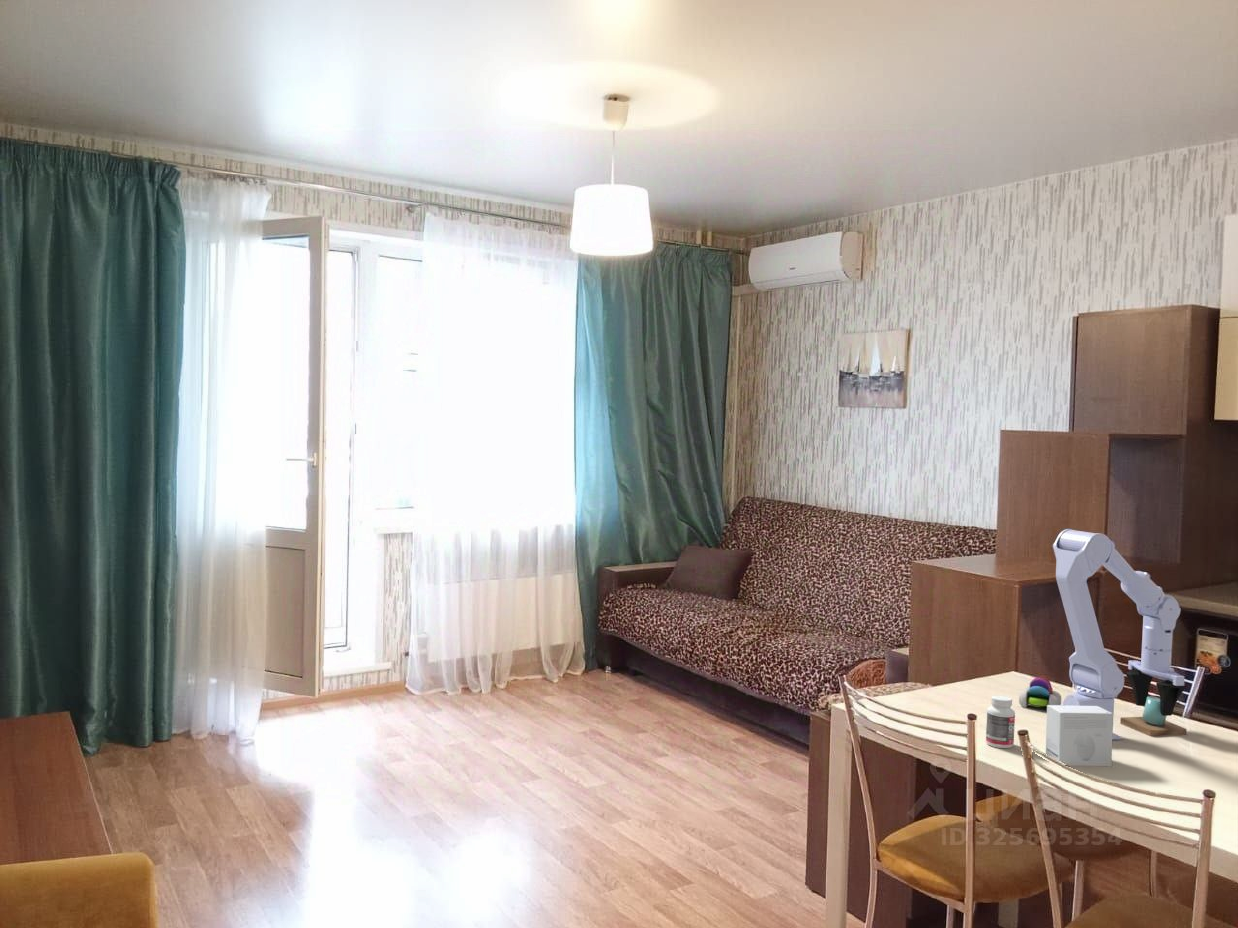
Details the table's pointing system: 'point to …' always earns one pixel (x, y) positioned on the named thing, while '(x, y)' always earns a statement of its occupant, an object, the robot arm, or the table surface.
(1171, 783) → the table surface
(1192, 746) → the table surface
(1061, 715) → the skincare box
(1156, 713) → the teal rounded cylinder
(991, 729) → the pill bottle
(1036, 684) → the multicolored rounded toy
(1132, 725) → the walnut block
